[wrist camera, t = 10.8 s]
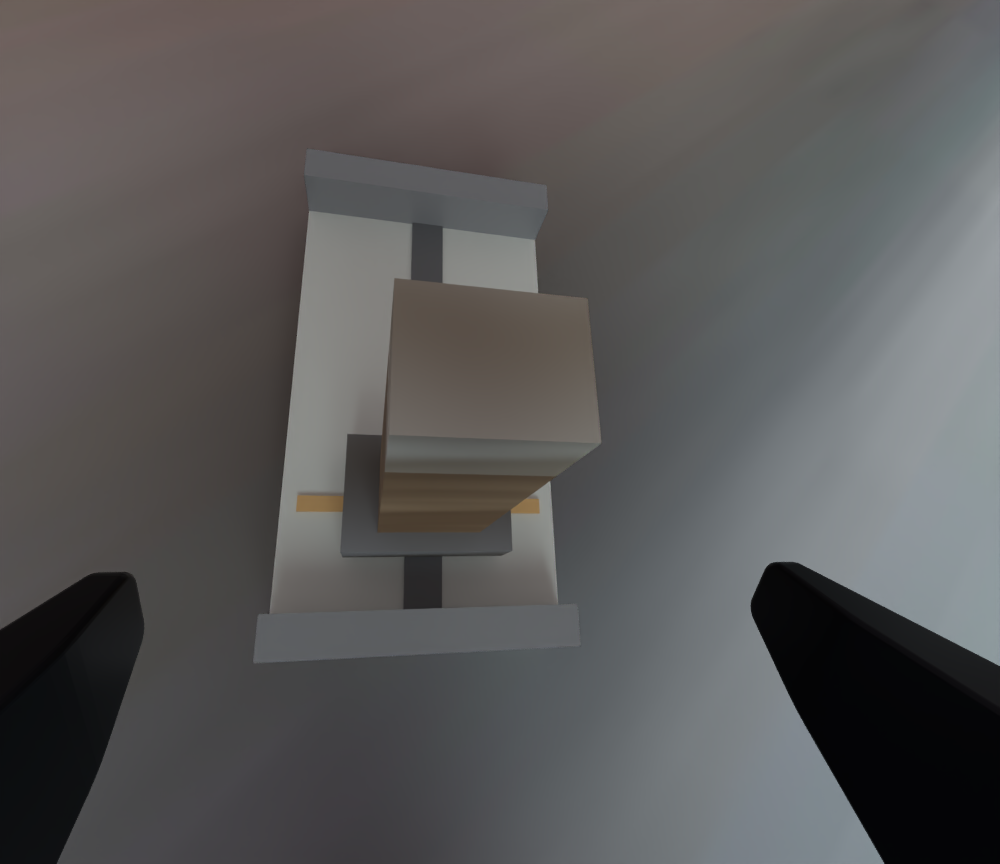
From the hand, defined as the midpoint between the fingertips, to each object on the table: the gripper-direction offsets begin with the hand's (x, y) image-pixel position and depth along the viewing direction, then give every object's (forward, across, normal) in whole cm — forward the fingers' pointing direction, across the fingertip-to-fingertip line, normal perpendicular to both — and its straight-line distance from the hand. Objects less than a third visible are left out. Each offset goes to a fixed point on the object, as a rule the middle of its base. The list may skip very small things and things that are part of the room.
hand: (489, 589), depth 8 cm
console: (+14, 0, +3) cm, 14 cm away
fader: (+9, 0, +5) cm, 10 cm away
